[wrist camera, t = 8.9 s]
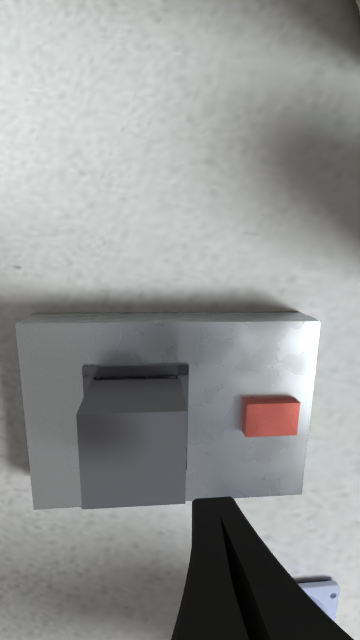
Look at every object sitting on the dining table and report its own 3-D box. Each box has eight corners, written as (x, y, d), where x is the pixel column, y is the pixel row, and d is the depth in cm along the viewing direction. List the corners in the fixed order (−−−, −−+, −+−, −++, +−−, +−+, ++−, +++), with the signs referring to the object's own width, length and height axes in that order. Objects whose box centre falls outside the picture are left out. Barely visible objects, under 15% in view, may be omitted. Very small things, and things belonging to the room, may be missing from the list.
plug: (174, 426, 21) (185, 503, 15) (103, 429, 21) (81, 509, 14) (175, 359, 20) (187, 411, 14) (100, 360, 20) (76, 414, 13)
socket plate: (285, 467, 22) (306, 501, 19) (47, 479, 21) (30, 518, 18) (300, 312, 20) (326, 323, 17) (32, 313, 19) (9, 326, 16)
